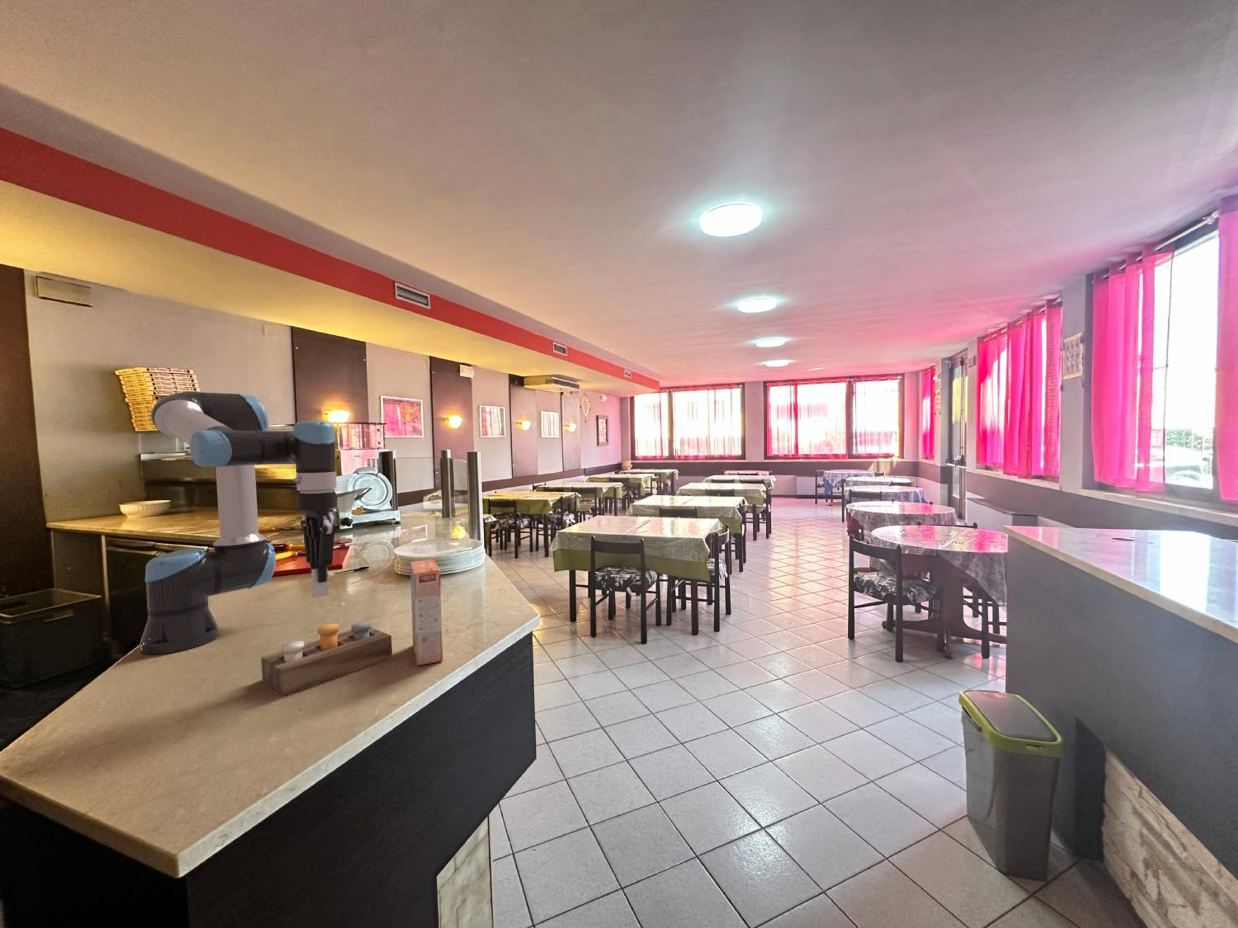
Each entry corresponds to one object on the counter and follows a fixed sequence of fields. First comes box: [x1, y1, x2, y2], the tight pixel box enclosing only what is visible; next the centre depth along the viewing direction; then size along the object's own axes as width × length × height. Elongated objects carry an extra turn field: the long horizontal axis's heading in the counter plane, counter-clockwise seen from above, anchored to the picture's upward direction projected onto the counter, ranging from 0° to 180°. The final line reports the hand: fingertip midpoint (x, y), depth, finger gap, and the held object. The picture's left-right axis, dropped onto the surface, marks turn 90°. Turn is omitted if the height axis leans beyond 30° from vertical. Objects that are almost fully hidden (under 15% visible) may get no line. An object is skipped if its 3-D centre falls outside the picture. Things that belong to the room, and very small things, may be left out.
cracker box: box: [409, 558, 444, 667], centre depth 117 cm, size 14×6×21 cm, turn 26°
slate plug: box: [350, 621, 372, 641], centre depth 116 cm, size 4×4×7 cm
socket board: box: [260, 626, 393, 697], centre depth 110 cm, size 12×22×5 cm, turn 142°
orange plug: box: [317, 623, 340, 651], centre depth 110 cm, size 4×4×7 cm
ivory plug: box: [281, 640, 305, 663], centre depth 105 cm, size 4×4×7 cm
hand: (320, 595), depth 112 cm, fingers closed
